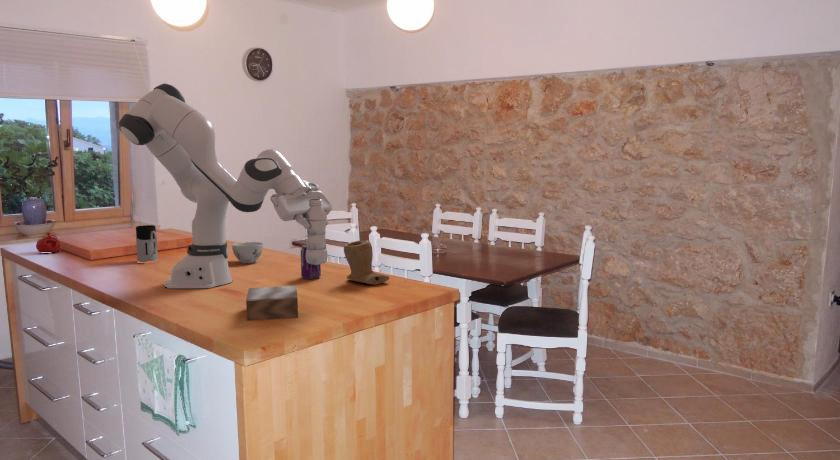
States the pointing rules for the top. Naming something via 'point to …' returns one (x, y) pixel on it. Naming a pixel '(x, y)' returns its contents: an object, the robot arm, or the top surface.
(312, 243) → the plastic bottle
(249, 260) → the teacup
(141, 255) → the grey and black mug
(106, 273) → the top surface
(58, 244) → the pomegranate
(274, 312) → the metal riser
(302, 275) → the beverage can
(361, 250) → the brown boot
